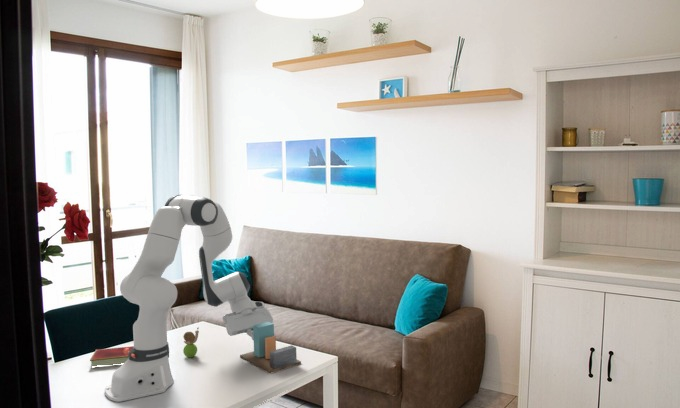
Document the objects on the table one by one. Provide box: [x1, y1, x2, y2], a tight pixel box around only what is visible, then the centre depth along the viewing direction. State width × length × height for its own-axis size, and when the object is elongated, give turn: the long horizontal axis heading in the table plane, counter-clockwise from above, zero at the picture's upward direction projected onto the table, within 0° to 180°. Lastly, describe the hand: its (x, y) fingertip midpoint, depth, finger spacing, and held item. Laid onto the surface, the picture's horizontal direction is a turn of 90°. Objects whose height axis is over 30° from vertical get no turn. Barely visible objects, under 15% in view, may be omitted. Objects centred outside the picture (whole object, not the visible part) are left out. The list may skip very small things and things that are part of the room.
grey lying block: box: [270, 345, 298, 370], centre depth 200 cm, size 10×3×6 cm, turn 130°
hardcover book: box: [89, 345, 134, 367], centre depth 211 cm, size 12×21×4 cm, turn 104°
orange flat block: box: [265, 335, 277, 359], centre depth 208 cm, size 9×2×8 cm, turn 130°
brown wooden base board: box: [239, 350, 302, 374], centre depth 208 cm, size 14×22×1 cm, turn 40°
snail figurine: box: [182, 326, 200, 358], centre depth 213 cm, size 5×6×12 cm
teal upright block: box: [252, 322, 275, 358], centre depth 210 cm, size 7×6×12 cm
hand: (256, 338), depth 215 cm, fingers closed
